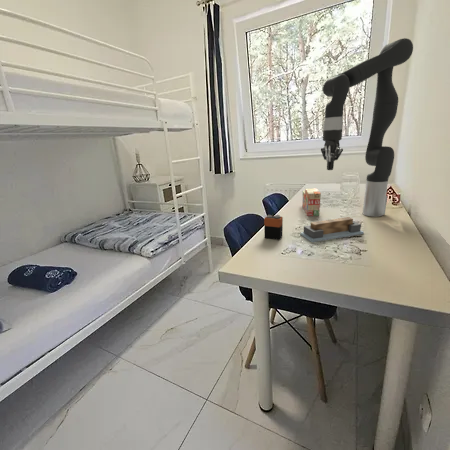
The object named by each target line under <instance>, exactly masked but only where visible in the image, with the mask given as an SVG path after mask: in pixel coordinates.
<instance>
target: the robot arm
mask: <svg viewBox="0 0 450 450" xmlns="http://www.w3.org/2000/svg"><path fill="white" fill-rule="evenodd" d="M413 51H414V44H413V41H412V40H411V39H409V38H405V37H404V38H399V39H397V40H394V41H392V42H390V43H388V44H385V45H384V46H382V48H381V49H380V51H379V53H378V55H375V56H373V57H370V58H369V59H368V58H367V59H366V60H364V61H362V62H360V63H357V64H355V65H354V66H351V67H349V68H348V69H347V70H345V71H343V72H341V73H338V74H336V75H334V76H332V77H330V78H327V79H326V81H325V82H324V84H323V85H322V92H323V94H324V95H325V96H326V97H331V100H330V102H328V103H327V104H326V105H325V109H324V110H325V111H324V122H323V132H322V133H323V135H322V141H323V142H324V145H323V146H324V147H323V148H322V147H321V148H320V152H321V155H322V157H323V160H324V161H326V170H327V171H333V170H334V164H335V161H338V160H339V158H340V156H341V155H342V153H343V151H344V149H343V148H341V147H340V141H341V140H342V139H343V138H342V137H343V128H344V127H343V125H344V120H343V119H344V118H343V117H344V106H345V103H346V101H347V97H348V95H349V91H350V88H352V87H355V86H357V85H359V84H362V83H363V82H365V81H366V80H368V79H369V78H371V77H373V76H375V75H377V77H376V91H375V97H374V98H375V99H374V105H373V112H372V113H373V114H372V119H371V121H372V122H371V127H370V134H369V139H368V142H367V147H366V150H365V156H364V157H365V159H364V160H365V163H366V164H367V165H369V166H372V167H375V168H374V171H373V172H371V173H368V174H367V175H366V180H365V181H366V182H365V189H364V197H363V207H362V214H363V215H364V216H367V217H382V216H384V215H385V214H386V208H387V201H388V196H387V190H388V185H389V178H390V176H391V174H392V171H393V165H394V161H395V160H394V159H395V151H394V149H393V147H392V146H386V145H385V146H383V143H384V142H383V141H384V137H385V135H386V132H387V130H388V129H389V128H390V126H391V125H392V123H393V122H394V120H395V118H396V117H397V114H398V112H397V111H398V105H399V95H398V93H397V90H396V88H395V86H394V83H393V70H394V67H397V66H401V65H402V64H404V63H406V62H407V61H408V60H409V59H410V58H411V57H412V54H413Z"/></svg>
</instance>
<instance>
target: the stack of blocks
mask: <svg viewBox="0 0 450 450" xmlns="http://www.w3.org/2000/svg"><path fill="white" fill-rule="evenodd" d="M321 196H322V193H321V192H320V190H319V189H317V188H316V187H314V188H305V189H304V190H302V208H303V209H304V211H305V214H306V216H308V217H309V216H310V217H313V216H316V217H317V216H320V210H321V209H320V208H321Z"/></svg>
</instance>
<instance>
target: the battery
mask: <svg viewBox="0 0 450 450" xmlns="http://www.w3.org/2000/svg"><path fill="white" fill-rule="evenodd" d="M283 218H284V217H283V216H281V215H279V214H275V215H271V214H267V215H266V216H265V217H264V219H263V220H264V221H263V222H264V223H263V224H264V226H263V228H264V229H263V230H264V239H268V240H269V239H270V240H276V241H280V240H281V239H282V237H283V229H284V228H283V221H284V220H283Z"/></svg>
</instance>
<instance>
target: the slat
mask: <svg viewBox="0 0 450 450" xmlns="http://www.w3.org/2000/svg"><path fill="white" fill-rule="evenodd" d="M353 221H354V218H352V217H349V216H346V217H340V218H333V219H331V218H330V219H325V220H319V221H312V222H311V221H310V225H311V227H310V228H312V229H314V230H318V229H322V230H323V235H324V234H330V233H337V232H343V231H349V225H352V224H353Z"/></svg>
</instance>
